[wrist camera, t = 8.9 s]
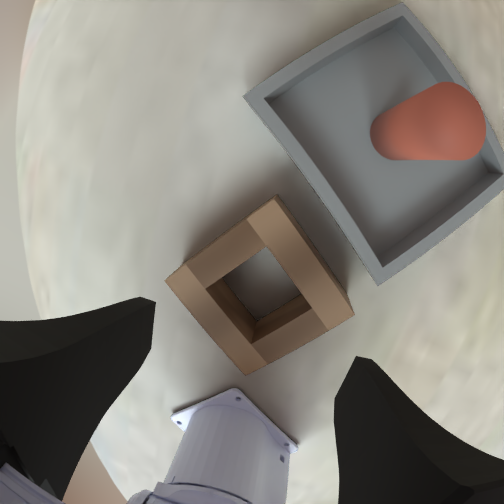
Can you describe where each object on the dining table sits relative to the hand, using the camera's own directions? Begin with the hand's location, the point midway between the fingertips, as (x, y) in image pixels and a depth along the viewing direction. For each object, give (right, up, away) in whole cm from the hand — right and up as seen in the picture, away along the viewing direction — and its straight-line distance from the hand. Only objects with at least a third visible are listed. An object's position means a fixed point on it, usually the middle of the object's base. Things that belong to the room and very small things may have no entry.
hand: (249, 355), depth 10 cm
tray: (+9, +11, +7) cm, 15 cm away
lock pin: (+8, +10, +6) cm, 15 cm away
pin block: (+1, +2, +10) cm, 10 cm away
